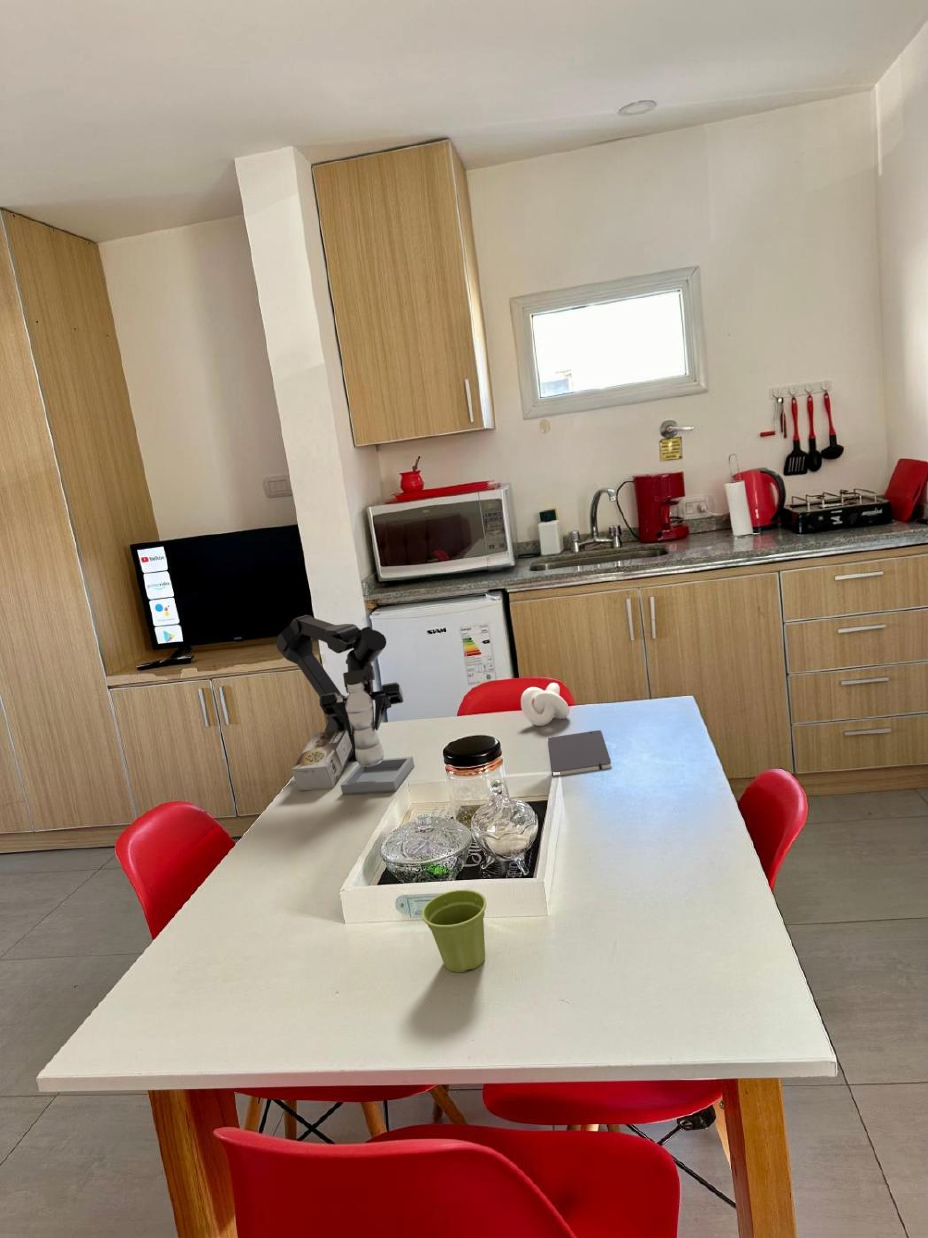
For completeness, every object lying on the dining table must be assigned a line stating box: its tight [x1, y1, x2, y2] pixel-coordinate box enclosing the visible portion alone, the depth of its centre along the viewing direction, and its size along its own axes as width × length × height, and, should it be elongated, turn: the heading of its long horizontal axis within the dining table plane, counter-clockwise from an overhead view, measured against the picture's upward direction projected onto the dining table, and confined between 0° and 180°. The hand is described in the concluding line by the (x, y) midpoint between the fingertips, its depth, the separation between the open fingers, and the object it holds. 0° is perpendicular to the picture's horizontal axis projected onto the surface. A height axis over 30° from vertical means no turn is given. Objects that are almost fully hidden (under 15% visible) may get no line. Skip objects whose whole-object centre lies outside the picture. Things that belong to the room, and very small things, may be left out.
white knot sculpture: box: [520, 682, 570, 727], centre depth 219 cm, size 11×12×9 cm
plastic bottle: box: [345, 682, 385, 767], centre depth 196 cm, size 6×7×20 cm
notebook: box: [547, 729, 612, 776], centre depth 194 cm, size 13×2×21 cm
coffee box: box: [291, 730, 353, 791], centre depth 207 cm, size 9×6×16 cm
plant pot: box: [421, 889, 487, 973], centre depth 124 cm, size 9×9×9 cm
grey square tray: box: [340, 756, 415, 796], centre depth 200 cm, size 14×13×2 cm
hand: (363, 731), depth 195 cm, fingers closed on plastic bottle, 6 cm apart
